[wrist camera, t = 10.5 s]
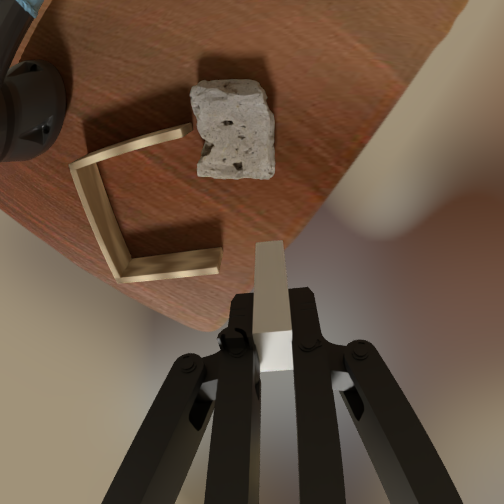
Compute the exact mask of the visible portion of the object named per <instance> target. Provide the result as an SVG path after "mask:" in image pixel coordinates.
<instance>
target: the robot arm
mask: <svg viewBox="0 0 504 504" xmlns="http://www.w3.org/2000/svg"><path fill="white" fill-rule="evenodd" d="M43 1H44V0H0V162H10V161H26V160H30V159H33V158H35V157H37V156H39V155H41V154H43V153H44V152H46V151H47V150H48V149H49V148H50V147H51V146H52V145H53V143H54V142H55V140H56V139H57V137H58V135H59V133H60V131H61V128H62V125H63V121H64V117H65V110H66V94H65V87H64V83H63V80H62V78H61V75H60V74H59V72H58V70H57V69H56V68H55V67H54V66H53V65H52V64H51V63H49V62H47V61H45V60H39V59H38V60H27V61H23V62H20V63H18V64H16V65H14V66H13V67H11V68H9V67H10V65H11V63H12V60H13V58H14V56H15V54H16V52H17V49H18V47H19V45H20V43H21V41H22V40H23V38H24V36H25V34H26V32H27V30H28V28H29V27H30V25H31V23H32V21H33V20H34V18H36V17H37V15H38V11H39V9H40V7H41V5H42V3H43ZM217 341H218V344H219V346H220V349H221V350H220V351H219V352H217V353H215V354H213V355H210V356H206V357H203V358H201V357H200V356H199V355H197V354H194V353H193V354H192V353H188V354H184V355H182V356H180V357H179V358H177V360H176V361H175V362H174V364H173V366H172V368H171V370H170V371H169V373H168V375H167V377H166V379H165V381H164V383H163V385H162V386H161V388H160V390H159V392H158V394H157V396H156V398H155V400H154V402H153V404H152V406H151V407H150V409H149V411H148V413H147V415H146V417H145V419H144V421H143V423H142V425H141V427H140V429H139V430H138V432H137V434H136V436H135V438H134V440H133V442H132V444H131V446H130V448H129V450H128V452H127V454H126V456H125V458H124V460H123V462H122V464H121V466H120V468H119V469H118V471H117V473H116V475H115V477H114V480H113V481H112V483H111V485H110V487H109V489H108V491H107V493H106V495H105V497H104V499H103V501H102V503H101V504H175V501H176V499H177V497H178V495H179V492H180V490H181V487H182V485H183V483H184V480H185V478H186V476H187V473H188V471H189V469H190V466H191V464H192V461H193V459H194V457H195V454H196V452H197V449H198V447H199V445H200V442H201V440H202V437H203V435H204V432H205V430H206V427H207V425H208V423H209V420H210V417H211V415H212V413H213V410H214V416H213V425H212V433H211V443H210V452H209V462H208V471H207V480H206V491H205V501H204V504H259V477H260V423H261V421H260V420H261V418H260V417H261V380H260V371H261V372H266V371H281V370H293V372H294V389H295V403H296V423H297V445H298V471H299V504H346V499H345V487H344V476H343V466H342V457H341V448H340V439H339V431H338V424H337V416H336V409H335V402H334V395H333V390H339V392H340V394H341V396H342V398H343V401H344V403H345V405H346V407H347V409H348V411H349V413H350V416H351V418H352V420H353V422H354V424H355V426H356V428H357V431H358V433H359V435H360V437H361V439H362V441H363V443H364V446H365V448H366V450H367V452H368V455H369V457H370V459H371V461H372V463H373V465H374V468H375V470H376V472H377V474H378V477H379V479H380V481H381V483H382V485H383V488H384V490H385V492H386V494H387V497H388V499H389V501H390V504H463V502H462V500H461V498H460V496H459V494H458V492H457V490H456V488H455V486H454V484H453V482H452V480H451V478H450V476H449V474H448V472H447V470H446V468H445V466H444V464H443V462H442V460H441V458H440V457H439V455H438V453H437V451H436V449H435V448H434V446H433V444H432V442H431V440H430V438H429V436H428V435H427V433H426V431H425V429H424V428H423V426H422V424H421V422H420V421H419V419H418V417H417V415H416V414H415V412H414V410H413V409H412V407H411V405H410V403H409V402H408V400H407V398H406V397H405V395H404V394H403V392H402V390H401V388H400V387H399V385H398V383H397V382H396V380H395V378H394V377H393V375H392V374H391V372H390V370H389V369H388V367H387V365H386V364H385V362H384V361H383V359H382V357H381V356H380V355H379V353H378V351H377V350H376V348H375V347H374V346H373V345H372V344H371V343H370V342H368V341H366V340H354V341H352V342H350V343H348V345H347V346H342V345H336V344H332V343H330V342H328V341H327V340H326V339H325V338H324V337H323V336H322V333H321V329H320V324H319V318H318V313H317V308H316V303H315V297H314V293H313V292H312V291H311V290H310V289H309V288H308V287H303V288H293V289H288V285H287V275H286V265H285V256H284V247H283V240H279V241H269V242H259V243H256V253H255V279H254V293H244V294H236V295H235V297H234V298H233V300H232V301H231V307H230V315H229V323H228V327H227V328H225V329H223V330H222V331H221V332H220V333H219V334H218V337H217Z"/></svg>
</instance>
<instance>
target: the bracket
mask: <svg viewBox="0 0 504 504" xmlns="http://www.w3.org/2000/svg"><path fill="white" fill-rule="evenodd" d="M192 130H193V127H192V123H187V124H183V125H179V126H175V127H171V128H167V129H163V130H160V131H156V132H153V133H149V134H146V135H142V136H139V137H136V138H132V139H129V140H126V141H123V142H120V143H117V144H114V145H111V146H108V147H105V148H103V149H100V150H97V151H94V152H92V153H89V154H87V155H85V156H83V157H81V158H79V159H77V160H76V161H74V162H72V163H70V164H69V168H70V171H71V174H72V177H73V180H74V183H75V186H76V189H77V192H78V194H79V197H80V200H81V202H82V205H83V207H84V210H85V213H86V215H87V218H88V220H89V222H90V225H91V227H92V230H93V232H94V234H95V237H96V239H97V241H98V244H99V246H100V248H101V250H102V252H103V255H104V257H105V259H106V261H107V263H108V265H109V267H110V269H111V271H112V273H113V275H114V277H115V279H116V281H117V283H118V284H119V283H130V282H140V281H150V280H160V279H170V278H180V277H190V276H199V275H209V274H218V273H219V270H220V265H221V260H222V256H223V250H222V247H217V248H209V249H202V250H194V251H186V252H179V253H171V254H164V255H156V256H149V257H141V258H134V259H132V258H131V255H130V253H129V251H128V248H127V246H126V243H125V241H124V239H123V236H122V234H121V231H120V229H119V226H118V223H117V221H116V218H115V216H114V213H113V210H112V208H111V205H110V202H109V199H108V197H107V194H106V191H105V188H104V185H103V182H102V179H101V176H100V173H99V170H98V167H97V164H96V162H98V161H101V160H104V159H107V158H110V157H113V156H116V155H120V154H123V153H126V152H129V151H133V150H136V149H139V148H143V147H146V146H150V145H154V144H157V143H161V142H165V141H169V140H173V139H177V138H181V137H183V136H185V135H186V134H188V133H189V132H191V131H192Z"/></svg>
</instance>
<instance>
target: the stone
mask: <svg viewBox="0 0 504 504" xmlns="http://www.w3.org/2000/svg"><path fill="white" fill-rule="evenodd" d="M190 98H191V105H192V109H193V112H194V115H195V116H196V118H197V121H198V122H197V129H198V131H199V133H200V135H201V137H202V138H203V139H205V144H204V147H203V149H202V153H201V158H200V160H199V162H198V164H197V167H198V168H197V174H198V176H202V177H213V178H215V179H216V178H219V179H227V178H228V179H241V178H255V179H261V180H262V179H269V178H271V177H272V176H273V175H274V172H275V150H274V128H275V121H274V114H273V113H272V112H271V111H270V109H269V108H268V105H267V102H266V99H267V95H266V93H265V90H264V89H263V88H262V87H261V86H260V83H259V82H257V81H255V80H250V79H244V80H240V79H228V80H212V81H206V80H203V81H200V82H199V83H198V84H197V85H196V86H193V87H192V89H191V91H190Z"/></svg>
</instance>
